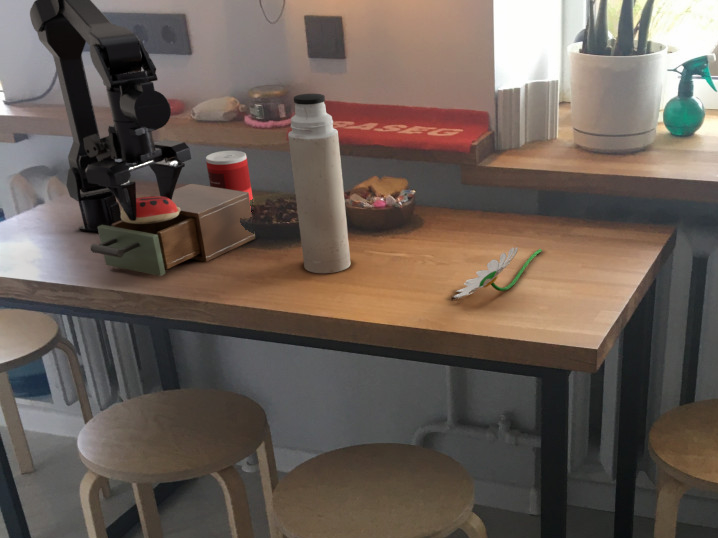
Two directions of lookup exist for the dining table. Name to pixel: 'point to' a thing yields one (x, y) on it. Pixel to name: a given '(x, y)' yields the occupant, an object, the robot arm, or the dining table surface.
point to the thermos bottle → (318, 186)
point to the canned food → (229, 171)
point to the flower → (493, 274)
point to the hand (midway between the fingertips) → (150, 213)
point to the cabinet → (215, 217)
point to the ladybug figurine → (152, 210)
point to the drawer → (149, 244)
